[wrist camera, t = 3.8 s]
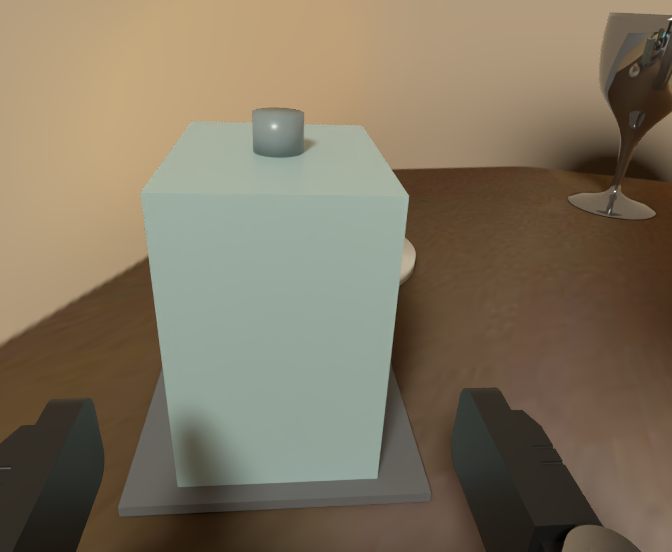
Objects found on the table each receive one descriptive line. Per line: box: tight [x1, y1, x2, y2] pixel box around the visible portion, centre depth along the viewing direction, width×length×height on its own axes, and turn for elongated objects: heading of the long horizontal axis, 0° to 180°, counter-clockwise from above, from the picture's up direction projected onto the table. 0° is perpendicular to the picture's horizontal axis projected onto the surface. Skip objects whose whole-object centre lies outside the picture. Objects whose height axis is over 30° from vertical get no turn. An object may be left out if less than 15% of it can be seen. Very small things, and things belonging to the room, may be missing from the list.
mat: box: [118, 361, 431, 517], centre depth 22 cm, size 10×10×1 cm
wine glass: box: [568, 13, 672, 220], centre depth 44 cm, size 8×8×15 cm
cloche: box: [141, 108, 409, 487], centre depth 19 cm, size 7×9×11 cm
